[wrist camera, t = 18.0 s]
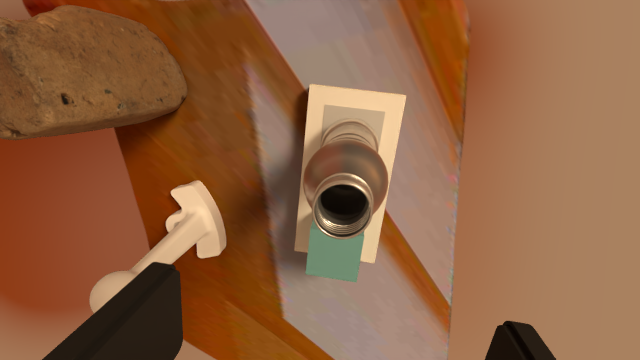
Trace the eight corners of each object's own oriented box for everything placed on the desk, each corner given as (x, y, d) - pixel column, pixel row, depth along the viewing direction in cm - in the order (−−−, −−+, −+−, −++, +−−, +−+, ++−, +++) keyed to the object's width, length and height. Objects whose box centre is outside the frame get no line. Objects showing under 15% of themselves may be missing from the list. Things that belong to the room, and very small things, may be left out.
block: (198, 107, 41) (60, 131, 22) (150, 122, 42) (-19, 156, 23) (165, 20, 38) (-27, -39, 19) (115, 39, 39) (-111, 1, 20)
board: (373, 251, 44) (374, 263, 41) (298, 239, 45) (294, 251, 42) (402, 94, 37) (406, 95, 34) (313, 84, 38) (309, 84, 35)
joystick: (232, 245, 47) (148, 358, 28) (189, 254, 48) (80, 366, 29) (206, 178, 44) (91, 252, 25) (160, 189, 45) (19, 267, 26)
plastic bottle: (386, 126, 36) (420, 180, 17) (364, 178, 38) (370, 276, 19) (335, 106, 36) (309, 137, 17) (315, 159, 38) (273, 238, 19)
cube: (356, 254, 41) (356, 282, 36) (312, 247, 42) (305, 274, 36) (363, 214, 39) (364, 236, 34) (317, 207, 40) (310, 228, 34)
